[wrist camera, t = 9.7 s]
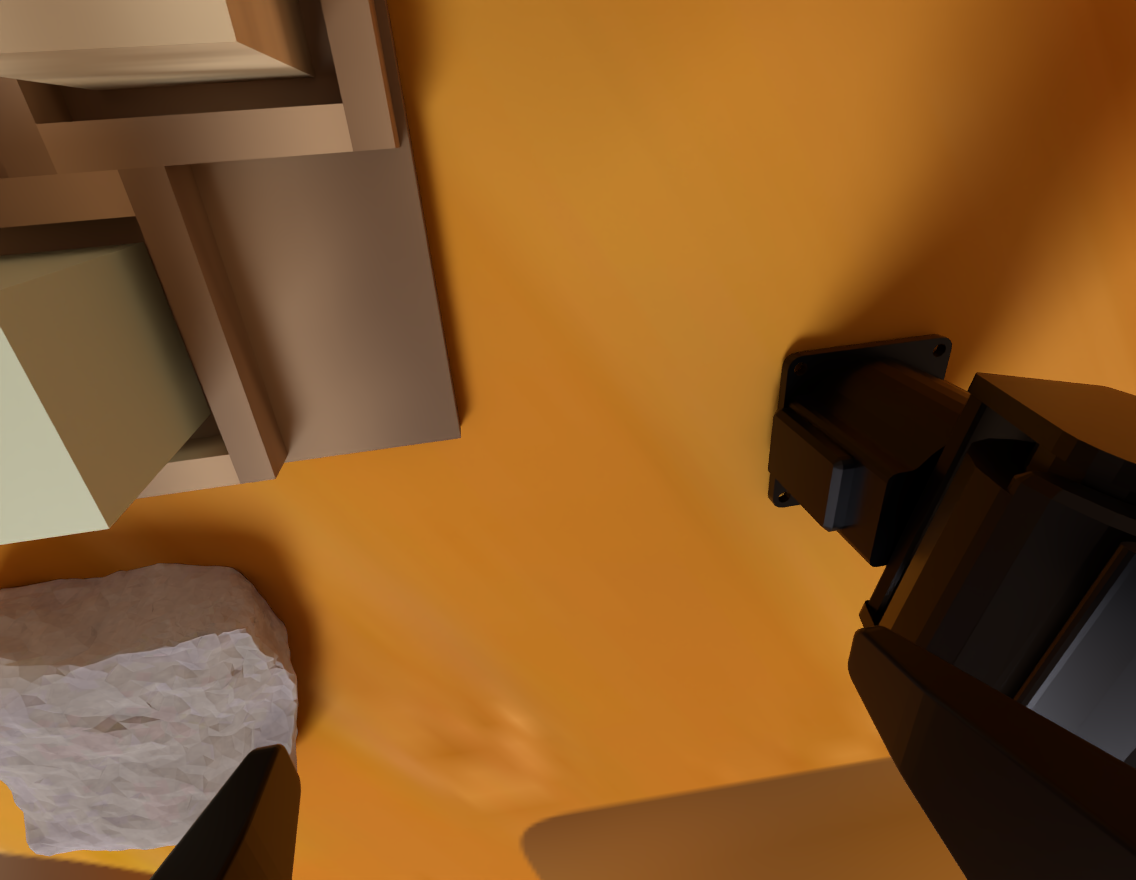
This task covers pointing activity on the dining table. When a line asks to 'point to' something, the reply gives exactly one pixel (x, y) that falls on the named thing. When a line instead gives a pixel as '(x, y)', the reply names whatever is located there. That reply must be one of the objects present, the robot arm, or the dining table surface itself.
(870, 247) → the dining table surface
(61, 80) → the oak block
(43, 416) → the sage block
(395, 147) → the walnut base board
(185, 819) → the stone block
